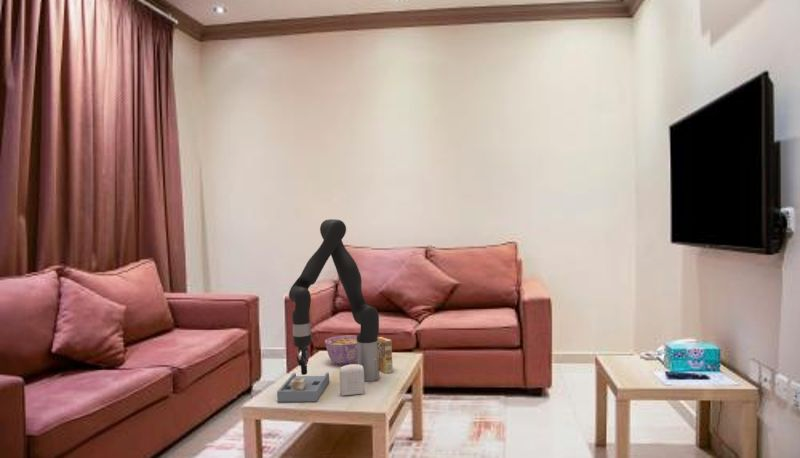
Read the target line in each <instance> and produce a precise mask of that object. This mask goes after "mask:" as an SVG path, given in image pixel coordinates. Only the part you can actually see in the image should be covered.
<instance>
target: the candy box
mask: <svg viewBox="0 0 800 458" xmlns="http://www.w3.org/2000/svg"><path fill="white" fill-rule="evenodd" d="M377 345H378V356H379V372H382V373H383V374H390V373H393V372H394V369H393V367H394V366H393V350H392V349H393V347H392V339H390V338H386V337H384V336H378V337H377Z"/></svg>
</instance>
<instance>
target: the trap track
mask: <svg viewBox="0 0 800 458" xmlns="http://www.w3.org/2000/svg"><path fill="white" fill-rule="evenodd" d="M294 378H306V390H305V391H291V383H290V382H291V381H292V380H293V379H294ZM329 383H330V373H329V372H326V373H325V374H324V375H297V372H293V373H292V374H291V375H290V376H289V377H288V378H287V380H286V381H285V382H284V383H283V384H282V385H281V386H280V387H279V388H278V390H277V391H276V396H277V400H276V401H277V403H317V402H318V401H319V399H320V398H321V396H322V394H323V393H324V392H325V390H326V388H327V387H328V385H329Z"/></svg>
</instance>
